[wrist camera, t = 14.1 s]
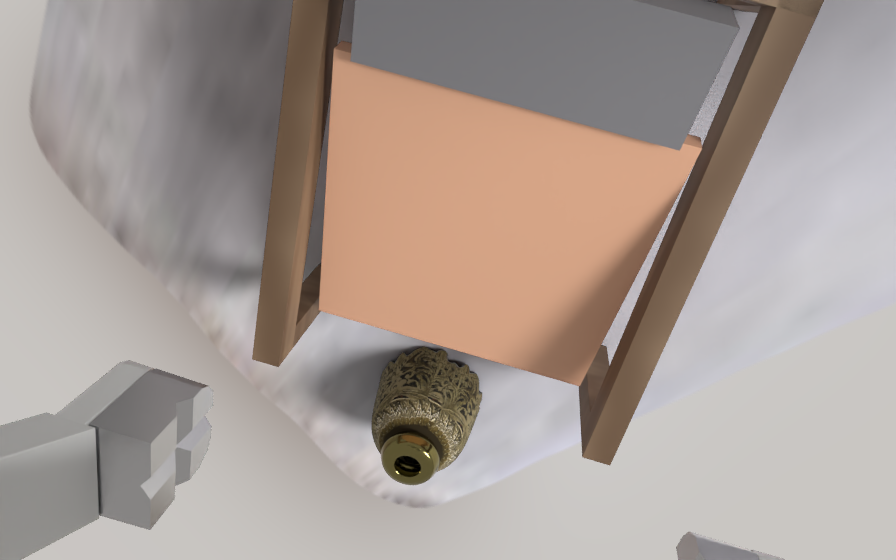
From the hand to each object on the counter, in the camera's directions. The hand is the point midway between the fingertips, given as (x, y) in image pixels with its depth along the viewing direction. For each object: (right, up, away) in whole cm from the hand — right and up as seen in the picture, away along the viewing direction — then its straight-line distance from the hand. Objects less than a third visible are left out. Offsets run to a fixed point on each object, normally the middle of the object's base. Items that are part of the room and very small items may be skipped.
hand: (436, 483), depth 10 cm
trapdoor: (+2, +8, +21) cm, 22 cm away
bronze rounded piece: (-2, -8, +27) cm, 29 cm away
